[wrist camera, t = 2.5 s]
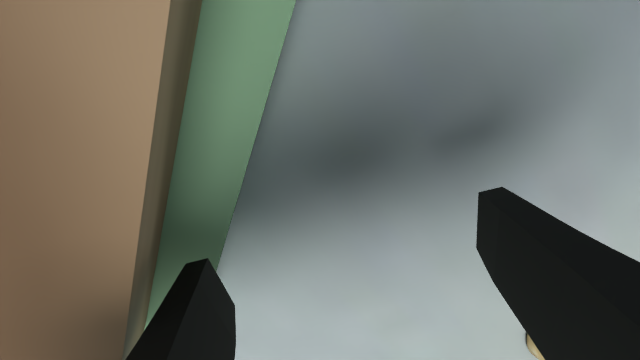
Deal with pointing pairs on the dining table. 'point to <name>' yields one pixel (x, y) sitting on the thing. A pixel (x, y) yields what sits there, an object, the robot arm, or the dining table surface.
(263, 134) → the dining table surface
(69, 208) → the block
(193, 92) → the putting deck
